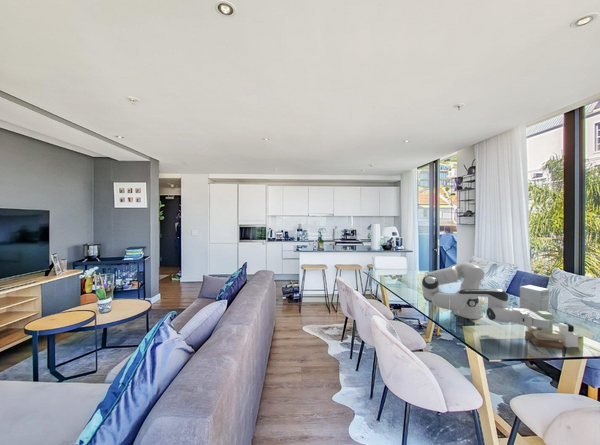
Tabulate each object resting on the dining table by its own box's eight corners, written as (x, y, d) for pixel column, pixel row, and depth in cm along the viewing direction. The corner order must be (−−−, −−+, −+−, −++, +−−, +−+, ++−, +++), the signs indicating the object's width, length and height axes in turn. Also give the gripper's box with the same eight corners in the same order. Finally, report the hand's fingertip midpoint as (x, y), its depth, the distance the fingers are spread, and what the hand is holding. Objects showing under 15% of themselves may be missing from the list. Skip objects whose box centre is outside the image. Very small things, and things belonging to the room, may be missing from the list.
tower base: (525, 338, 163) (525, 330, 162) (548, 340, 160) (548, 332, 160) (537, 347, 151) (538, 340, 151) (563, 350, 148) (563, 342, 148)
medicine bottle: (565, 341, 158) (566, 321, 157) (578, 347, 151) (579, 326, 150) (553, 341, 157) (554, 321, 157) (566, 347, 150) (566, 326, 150)
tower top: (527, 331, 161) (527, 325, 161) (547, 333, 159) (547, 326, 159) (538, 339, 152) (538, 332, 152) (559, 341, 149) (559, 334, 149)
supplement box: (549, 311, 204) (550, 289, 203) (539, 313, 199) (539, 290, 199) (529, 305, 217) (529, 284, 216) (518, 307, 212) (519, 286, 211)
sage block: (536, 327, 158) (536, 310, 158) (546, 328, 157) (546, 311, 157) (542, 331, 153) (542, 313, 153) (552, 331, 152) (552, 314, 152)
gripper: (509, 314, 168) (535, 316, 165) (530, 328, 148) (559, 331, 145) (510, 304, 167) (535, 306, 165) (530, 317, 147) (560, 319, 145)
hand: (547, 318), depth 155 cm, fingers open, 8 cm apart
